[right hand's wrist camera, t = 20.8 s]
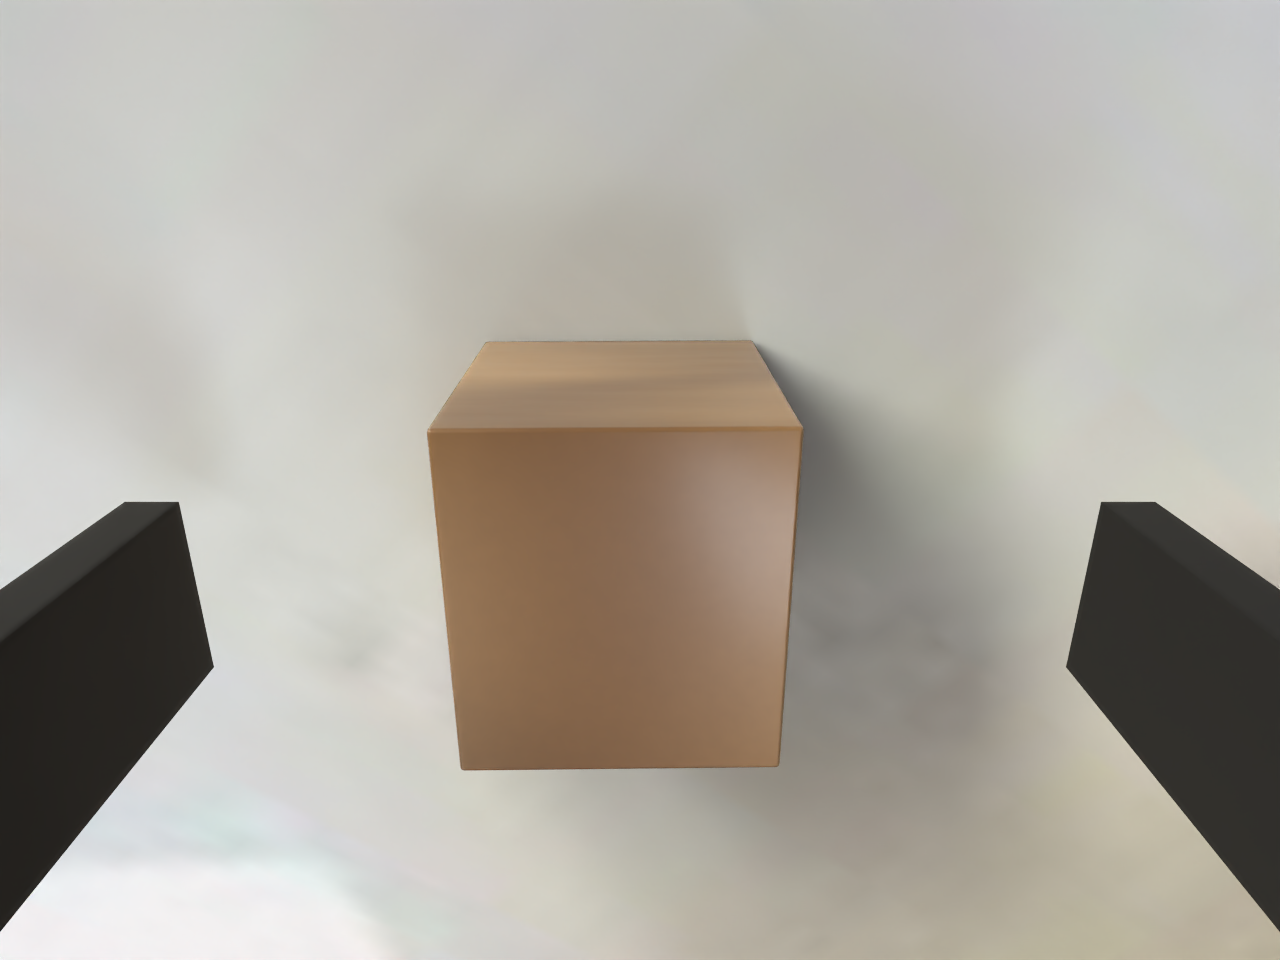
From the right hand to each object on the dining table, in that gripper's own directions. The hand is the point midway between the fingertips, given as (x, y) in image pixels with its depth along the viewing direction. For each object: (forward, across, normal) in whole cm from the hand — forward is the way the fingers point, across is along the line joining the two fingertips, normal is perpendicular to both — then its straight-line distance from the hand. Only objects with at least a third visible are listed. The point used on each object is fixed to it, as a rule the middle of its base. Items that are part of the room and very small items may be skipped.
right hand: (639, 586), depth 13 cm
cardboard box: (+3, 0, 0) cm, 4 cm away
